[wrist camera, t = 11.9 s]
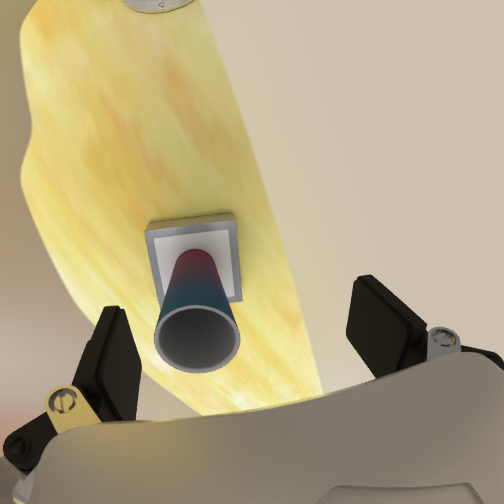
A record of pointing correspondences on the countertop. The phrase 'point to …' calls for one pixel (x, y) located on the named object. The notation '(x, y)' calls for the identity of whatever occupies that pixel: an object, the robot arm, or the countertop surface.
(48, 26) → the countertop surface
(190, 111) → the countertop surface
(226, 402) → the countertop surface
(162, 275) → the riser
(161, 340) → the cup
